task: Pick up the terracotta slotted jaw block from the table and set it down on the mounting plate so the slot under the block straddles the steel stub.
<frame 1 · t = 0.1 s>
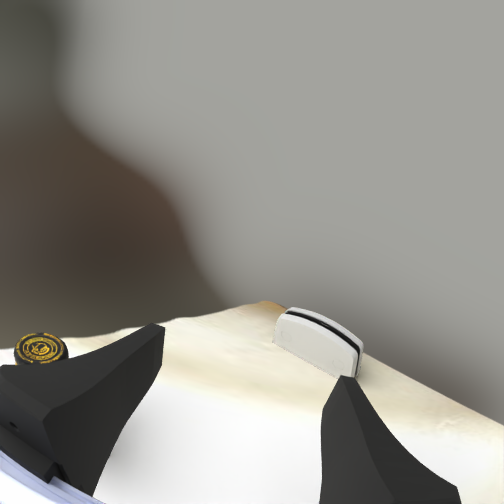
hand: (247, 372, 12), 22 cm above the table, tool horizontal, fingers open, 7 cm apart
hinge: (311, 362, 53), on the table
condiment: (65, 436, 25), on the table
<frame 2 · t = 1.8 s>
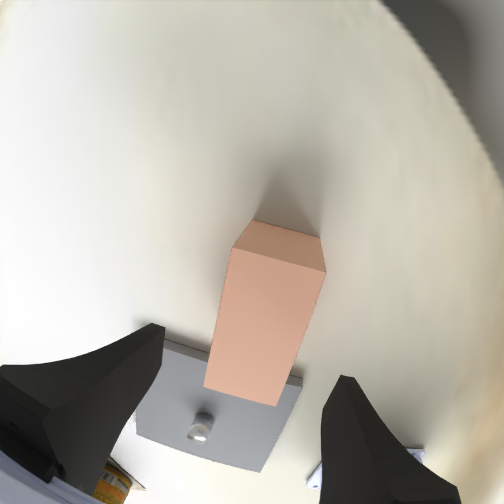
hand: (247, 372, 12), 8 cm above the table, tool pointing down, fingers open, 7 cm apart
mounting plate: (208, 410, 24), on the table
steel stub: (201, 428, 22), on the mounting plate, point 2 cm above the table
jaw block: (269, 290, 20), on the table
condiment: (109, 469, 31), on the table
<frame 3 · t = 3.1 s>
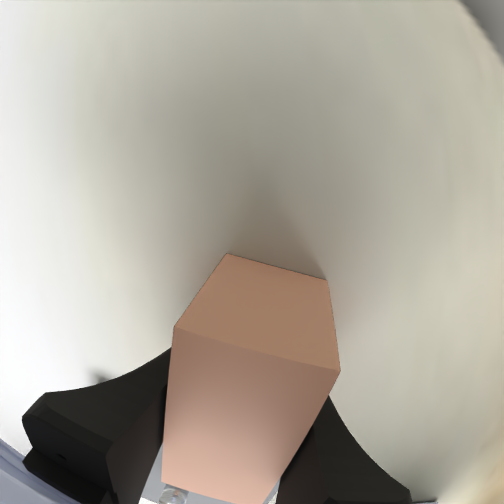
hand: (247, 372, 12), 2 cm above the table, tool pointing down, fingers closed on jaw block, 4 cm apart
mounting plate: (184, 470, 18), on the table
steel stub: (175, 492, 16), on the mounting plate, point 2 cm above the table
jaw block: (253, 350, 14), on the table, touching gripper
when the fingers open (4 cm above the table, at t = 6.9 s): jaw block drops 1 cm, resting on mounting plate.
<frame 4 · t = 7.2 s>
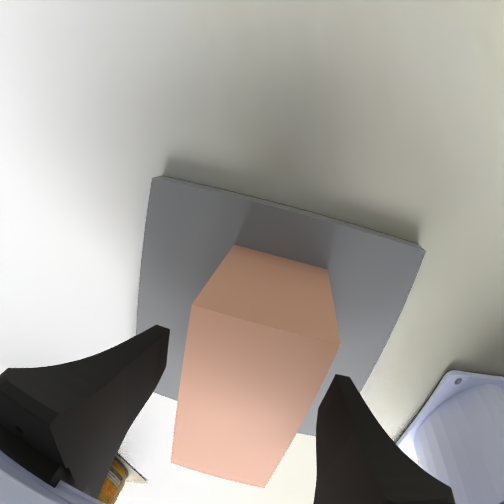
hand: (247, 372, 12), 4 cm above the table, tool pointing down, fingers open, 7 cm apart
mounting plate: (259, 325, 16), on the table
jaw block: (258, 336, 15), point 1 cm above the table, touching mounting plate
condiment: (97, 452, 23), on the table
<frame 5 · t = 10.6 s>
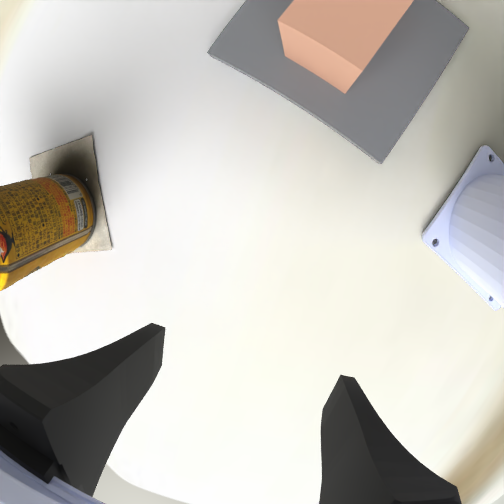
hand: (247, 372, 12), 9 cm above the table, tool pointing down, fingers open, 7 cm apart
mounting plate: (347, 31, 15), on the table
jaw block: (350, 26, 14), point 1 cm above the table, touching mounting plate
condiment: (68, 199, 22), on the table
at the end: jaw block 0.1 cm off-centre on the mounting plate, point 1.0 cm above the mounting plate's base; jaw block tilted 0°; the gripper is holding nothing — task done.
